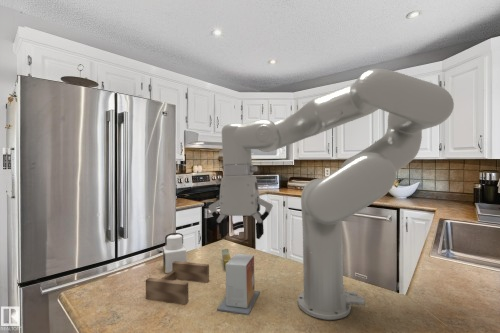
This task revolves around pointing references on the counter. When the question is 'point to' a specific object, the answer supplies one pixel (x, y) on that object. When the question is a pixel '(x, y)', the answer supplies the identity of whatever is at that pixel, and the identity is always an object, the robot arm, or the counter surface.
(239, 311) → the mat
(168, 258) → the medicine bottle
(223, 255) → the medication box
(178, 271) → the nook
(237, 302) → the small box
